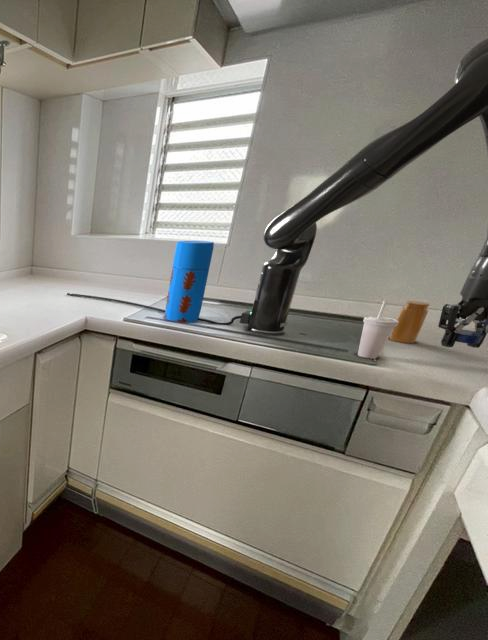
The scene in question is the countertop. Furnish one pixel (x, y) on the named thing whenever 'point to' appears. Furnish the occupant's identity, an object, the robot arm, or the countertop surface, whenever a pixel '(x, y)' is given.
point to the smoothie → (375, 334)
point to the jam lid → (469, 337)
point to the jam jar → (410, 322)
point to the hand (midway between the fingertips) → (459, 346)
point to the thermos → (188, 280)
